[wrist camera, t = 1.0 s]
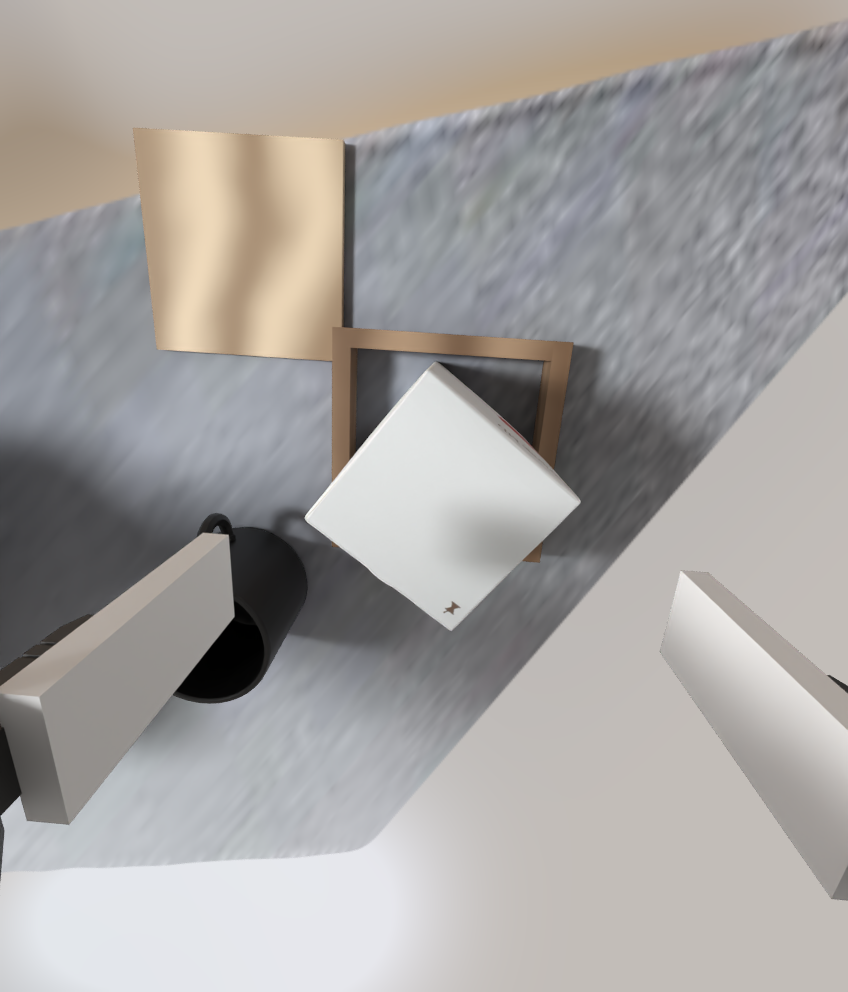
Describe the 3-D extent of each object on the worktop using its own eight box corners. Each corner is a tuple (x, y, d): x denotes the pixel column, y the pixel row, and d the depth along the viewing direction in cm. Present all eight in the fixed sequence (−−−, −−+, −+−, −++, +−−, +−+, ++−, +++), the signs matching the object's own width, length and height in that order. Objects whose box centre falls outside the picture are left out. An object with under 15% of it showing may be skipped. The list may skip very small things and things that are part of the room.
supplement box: (530, 439, 34) (592, 505, 20) (449, 525, 36) (452, 640, 22) (436, 355, 32) (429, 361, 18) (358, 451, 35) (298, 522, 20)
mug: (300, 494, 36) (254, 540, 27) (313, 628, 40) (277, 706, 31) (181, 494, 36) (100, 540, 28) (205, 627, 40) (140, 703, 31)
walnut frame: (339, 533, 37) (331, 546, 34) (340, 328, 32) (332, 326, 30) (533, 548, 37) (539, 562, 34) (563, 342, 32) (573, 342, 29)
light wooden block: (161, 349, 33) (156, 349, 32) (138, 131, 29) (132, 127, 28) (343, 361, 33) (341, 361, 32) (345, 143, 29) (343, 139, 28)
